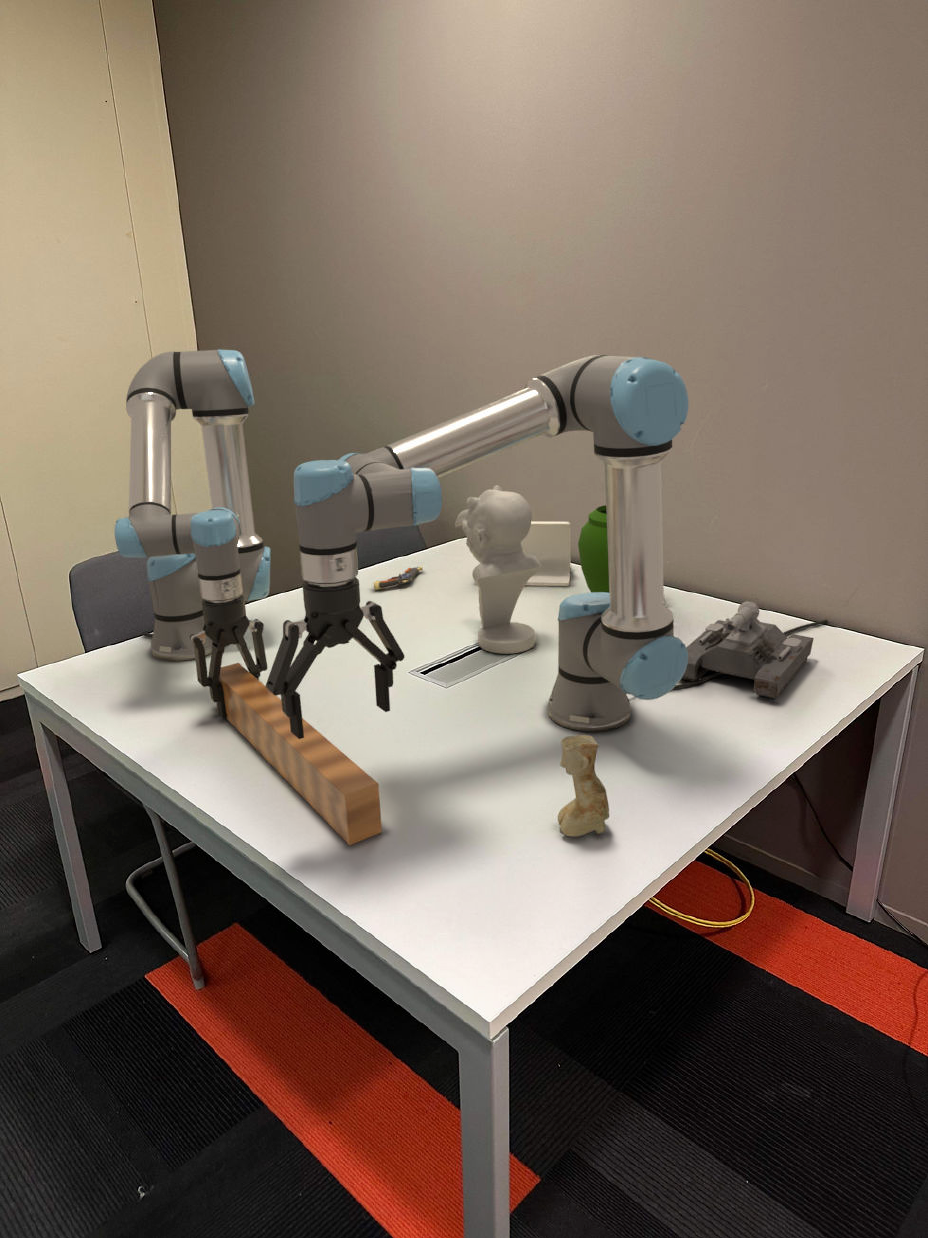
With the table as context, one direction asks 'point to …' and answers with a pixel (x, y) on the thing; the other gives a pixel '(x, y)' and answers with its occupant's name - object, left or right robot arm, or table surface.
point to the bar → (303, 757)
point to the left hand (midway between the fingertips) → (238, 710)
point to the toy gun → (398, 578)
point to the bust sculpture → (500, 566)
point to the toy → (749, 652)
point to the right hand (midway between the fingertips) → (341, 721)
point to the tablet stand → (549, 552)
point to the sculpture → (583, 788)
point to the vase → (595, 551)
